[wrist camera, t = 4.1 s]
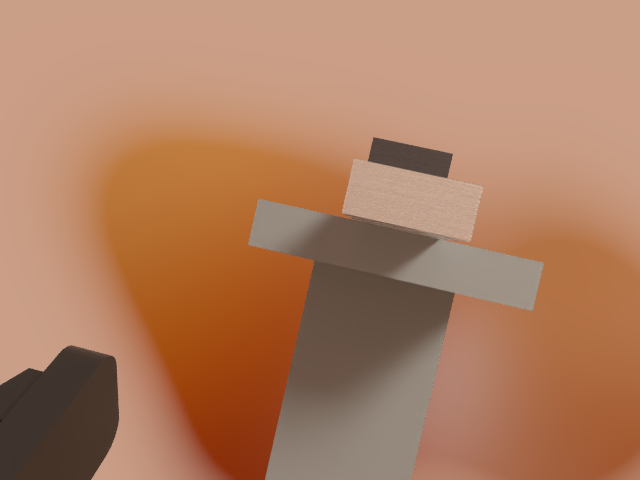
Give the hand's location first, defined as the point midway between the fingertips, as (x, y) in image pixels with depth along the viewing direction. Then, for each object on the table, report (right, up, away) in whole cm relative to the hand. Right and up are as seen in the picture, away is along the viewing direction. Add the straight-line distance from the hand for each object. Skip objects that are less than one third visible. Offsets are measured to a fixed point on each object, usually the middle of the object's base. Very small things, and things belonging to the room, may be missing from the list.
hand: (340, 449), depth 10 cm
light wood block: (+3, +4, +20) cm, 21 cm away
